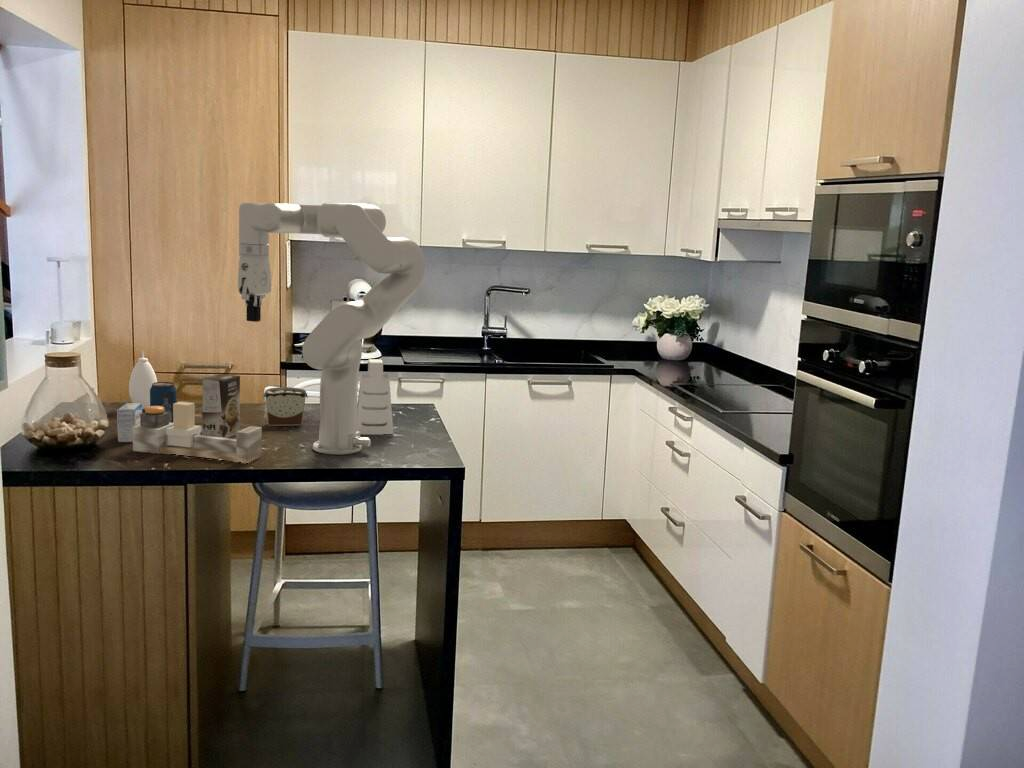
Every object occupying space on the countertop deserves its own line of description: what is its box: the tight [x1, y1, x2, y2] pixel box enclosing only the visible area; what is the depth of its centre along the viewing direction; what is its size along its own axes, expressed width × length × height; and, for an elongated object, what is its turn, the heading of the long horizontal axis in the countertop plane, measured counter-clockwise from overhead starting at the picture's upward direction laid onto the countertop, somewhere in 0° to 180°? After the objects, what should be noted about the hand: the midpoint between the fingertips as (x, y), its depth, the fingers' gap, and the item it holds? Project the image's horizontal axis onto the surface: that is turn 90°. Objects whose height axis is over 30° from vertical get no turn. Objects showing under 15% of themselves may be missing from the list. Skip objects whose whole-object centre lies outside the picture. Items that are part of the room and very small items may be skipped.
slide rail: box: [132, 411, 263, 464], centre depth 225 cm, size 30×8×9 cm, turn 78°
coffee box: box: [201, 373, 241, 439], centre depth 242 cm, size 9×6×16 cm
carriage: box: [166, 401, 202, 447], centre depth 225 cm, size 6×6×10 cm
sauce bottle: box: [128, 349, 158, 409], centre depth 267 cm, size 8×8×18 cm
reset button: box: [144, 406, 164, 415], centre depth 227 cm, size 4×4×4 cm
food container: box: [262, 386, 309, 427], centre depth 262 cm, size 12×6×10 cm, turn 108°
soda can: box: [150, 381, 178, 423], centre depth 249 cm, size 7×7×12 cm
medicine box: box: [116, 402, 143, 443], centre depth 235 cm, size 8×4×9 cm, turn 9°
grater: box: [356, 358, 394, 435], centre depth 259 cm, size 10×10×20 cm
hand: (253, 320), depth 241 cm, fingers closed
